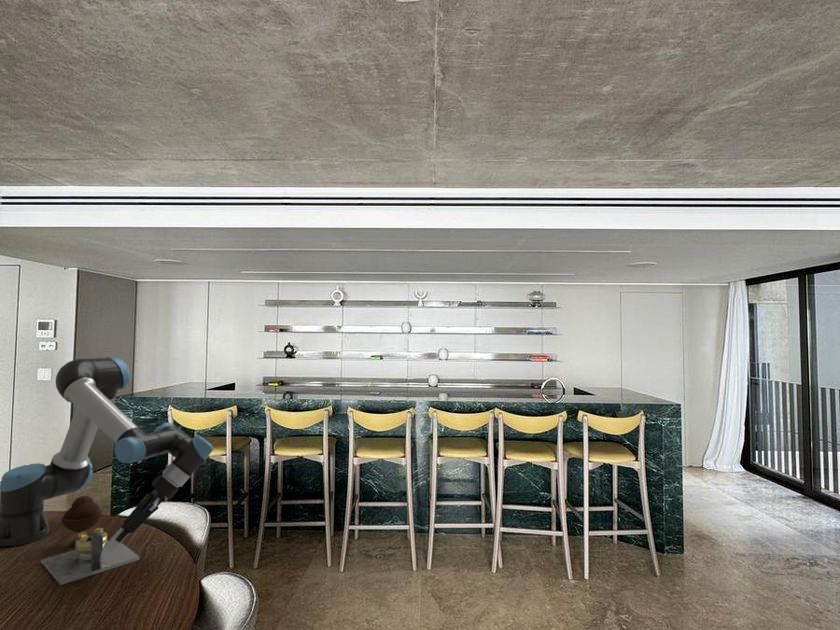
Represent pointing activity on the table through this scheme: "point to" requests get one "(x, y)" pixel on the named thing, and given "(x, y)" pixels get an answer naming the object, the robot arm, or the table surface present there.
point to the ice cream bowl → (81, 515)
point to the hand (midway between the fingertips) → (107, 550)
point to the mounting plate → (86, 563)
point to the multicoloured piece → (92, 546)
